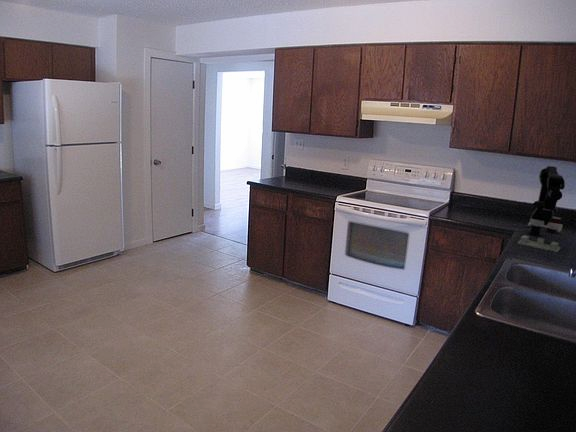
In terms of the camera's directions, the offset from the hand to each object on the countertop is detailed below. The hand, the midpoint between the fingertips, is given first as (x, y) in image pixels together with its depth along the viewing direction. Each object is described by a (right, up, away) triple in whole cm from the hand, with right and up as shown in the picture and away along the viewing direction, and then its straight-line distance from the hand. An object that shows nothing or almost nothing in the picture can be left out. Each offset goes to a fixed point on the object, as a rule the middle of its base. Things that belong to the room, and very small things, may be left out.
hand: (545, 225), depth 263 cm
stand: (-5, -12, -1) cm, 13 cm away
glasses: (-1, -1, -1) cm, 2 cm away
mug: (+24, -5, +37) cm, 44 cm away
